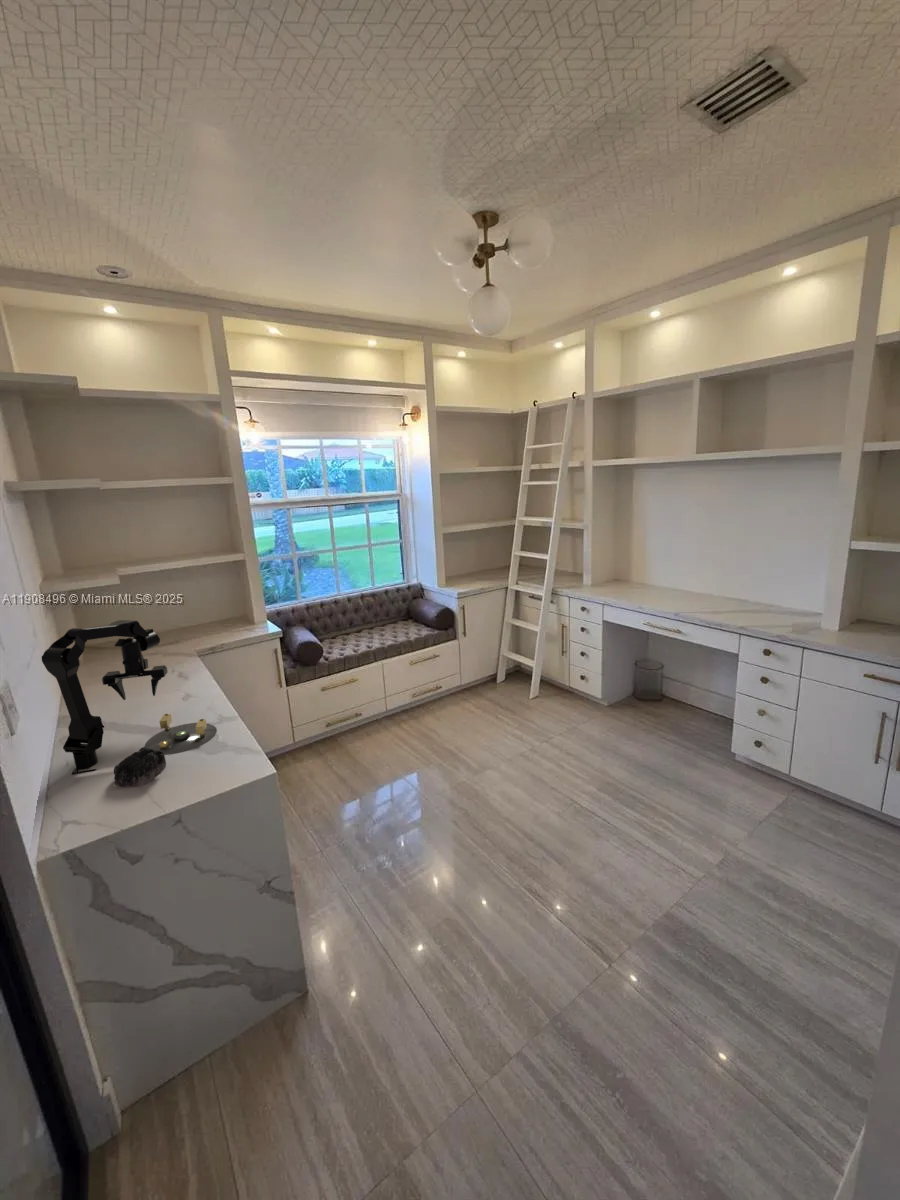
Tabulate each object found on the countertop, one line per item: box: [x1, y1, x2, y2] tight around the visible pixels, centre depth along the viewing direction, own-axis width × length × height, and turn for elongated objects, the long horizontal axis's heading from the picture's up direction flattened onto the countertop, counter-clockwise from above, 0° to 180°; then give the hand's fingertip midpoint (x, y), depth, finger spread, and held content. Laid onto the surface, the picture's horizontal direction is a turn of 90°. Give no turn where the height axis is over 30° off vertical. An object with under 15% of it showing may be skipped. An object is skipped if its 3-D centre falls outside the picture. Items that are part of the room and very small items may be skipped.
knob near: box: [195, 718, 207, 738], centre depth 171 cm, size 6×2×5 cm, turn 16°
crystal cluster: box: [113, 746, 167, 788], centre depth 150 cm, size 13×14×10 cm
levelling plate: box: [144, 722, 218, 756], centre depth 171 cm, size 22×22×3 cm
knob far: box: [159, 713, 173, 732], centre depth 176 cm, size 6×2×5 cm, turn 16°
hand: (139, 697), depth 177 cm, fingers open, 9 cm apart
